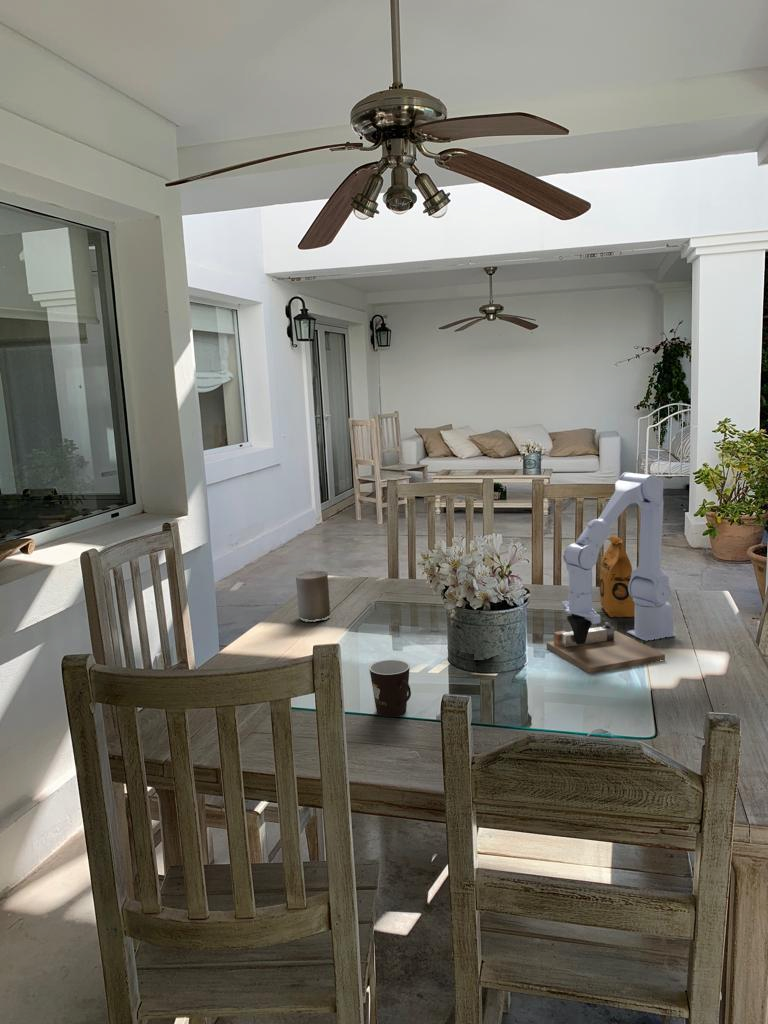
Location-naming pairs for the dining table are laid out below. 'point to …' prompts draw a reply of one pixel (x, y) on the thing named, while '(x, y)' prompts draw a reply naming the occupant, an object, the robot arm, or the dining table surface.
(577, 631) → the robot arm
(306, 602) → the pillar candle
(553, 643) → the brown wooden board
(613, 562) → the coffee package
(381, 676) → the coffee mug
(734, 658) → the dining table surface
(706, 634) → the dining table surface
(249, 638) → the dining table surface
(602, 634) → the bar
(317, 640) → the dining table surface
